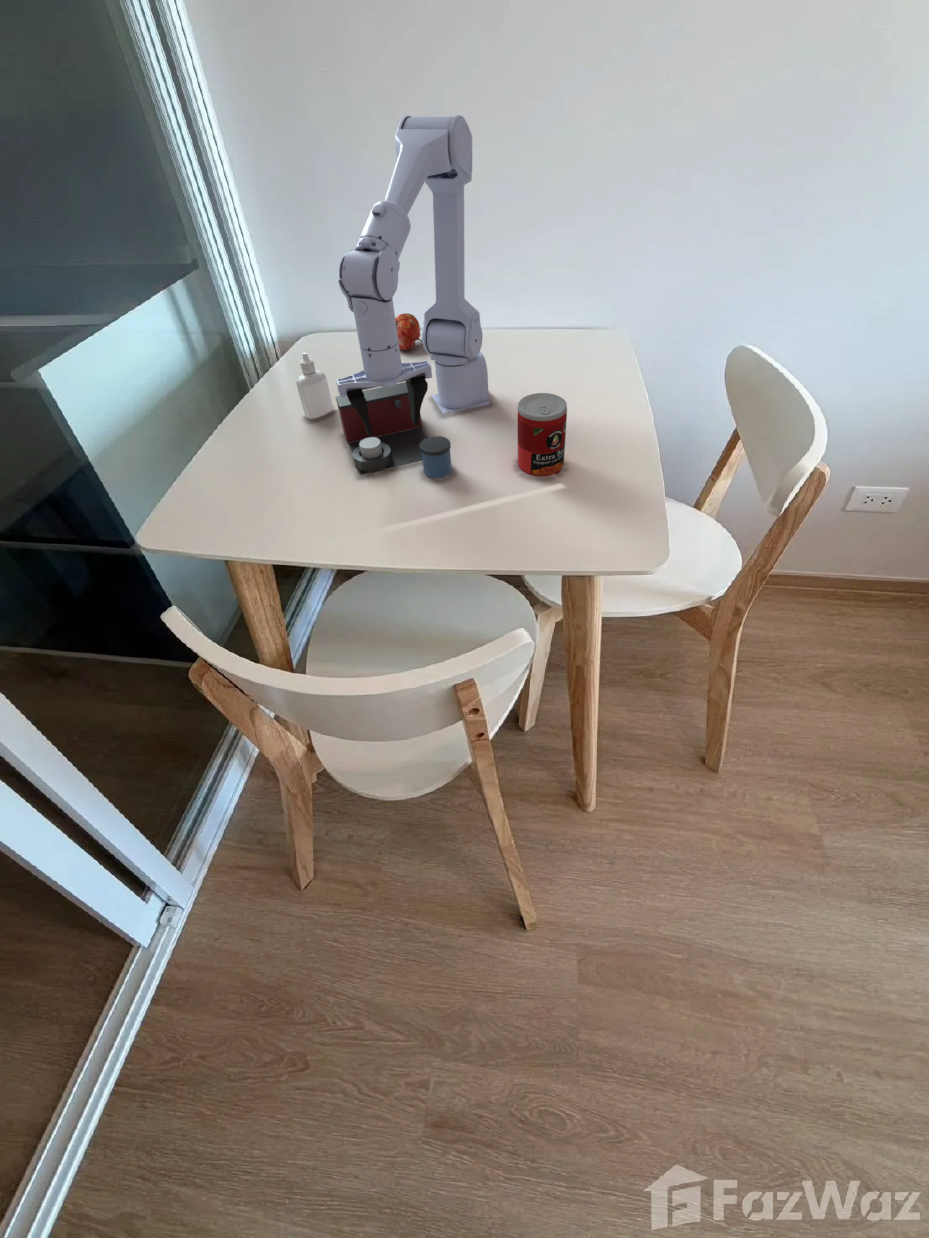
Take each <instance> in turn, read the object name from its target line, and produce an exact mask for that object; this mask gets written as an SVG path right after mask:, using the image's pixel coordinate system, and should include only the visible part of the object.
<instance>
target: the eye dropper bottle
mask: <svg viewBox="0 0 929 1238" xmlns="http://www.w3.org/2000/svg"><path fill="white" fill-rule="evenodd" d="M299 366H300V368H301V372H302V373H301V375H300V376H299V377H298V378H297V379H296V387H297V391H298V395H299V399H300V402H301V407H302V410H303V414H304V417H305V418H307V419H308V420H314V419H318V418H320V417H323V416H326V415H328V414H329V413H331V412H333V411H334V405H333V400H332V396H331V392H330V387H329V383H328V379H327V376H326V374H325V373H324V372H323V371H321V370H318V369H316V366H315V362H314V358H310V357H309V356H308V353H307V352H302V359H300V360H299Z"/></svg>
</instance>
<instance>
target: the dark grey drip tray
mask: <svg viewBox="0 0 929 1238" xmlns="http://www.w3.org/2000/svg"><path fill="white" fill-rule="evenodd" d="M375 438H378V439H379V440H380V441H381V447H382V454H381V455H380V456H378V457H375V458H364V457H362V455H361V451H360V446H359V443H360V441H361V440H360V441H355V442H351V443H347V445H348V448H349V450H350V453H351V457H352V460H353V464H354V466H355V469H357V471H358V473H359V475H360V476H362V475H366V474H371V473H376V472H380V471H384V470H387V469H391V468H392V469H393V468H396V467H400V466H405V465H410V464H413V463H417V462H423V461H422V453H421V451H420V443H421V442H422V441H423V440H424V439H426V438H429V436H428V434H427V433H426V431H425V429H424V426H422V427H418V428H413V429H409V430H404V431H400V432H395V433H391V434H386V435H382V436H377V437H375Z"/></svg>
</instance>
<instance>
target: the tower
mask: <svg viewBox="0 0 929 1238" xmlns="http://www.w3.org/2000/svg"><path fill="white" fill-rule="evenodd" d="M396 384H397V385H396V386H395V387H391V388H383V387H376V388H371V389H367V390H362V391H363V393H364V397H365V399H366V401H367V408H368V415H369V420H370V424H371V428H372V432H373V435H372V436H368V434H367V432H366V428H365V425H364V422H363V421H362V419H361V417H360V416H359V414H358V413H357V411H356V410H355V409H354V407H353V406H352V404H351V403H350V401H349V399H348V397H347V396H343V397H340V395H336V396H335V401H336V405H337V409H338V414H339V418H340V422H341V426H342V431H343V434H344V435H343V436H344V438H345V440H346V443H347V444H348V443H352V442H356V441H361V440H363V439H365V438H369V437H379V436H383V435H388V434H392V433H397V432H401V431H406V430H410V429H415V428H419V427H423V423H422V416H421V413H420V415H419V425H417V426H415V425H414V424H413V422H412V420H411V415H410V403H409V395H408V390H407V385H406V381H404V382H400V383H396Z"/></svg>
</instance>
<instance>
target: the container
mask: <svg viewBox="0 0 929 1238" xmlns="http://www.w3.org/2000/svg"><path fill="white" fill-rule="evenodd" d="M451 446H452V445H451V441H450V439H449V438H447V437H445V436H439V435H436V436H435V435H434V436H428V438H426V439H424V440H423V441H422V442H421V443H420V451H421V453H422V461H421V462H422V469H423V474H424V476H426V477H428V478H431V479H442V478H445V477H447V476H449V475H451V473H452V472H453V467H452V457H451V456H452V455H451Z"/></svg>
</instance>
